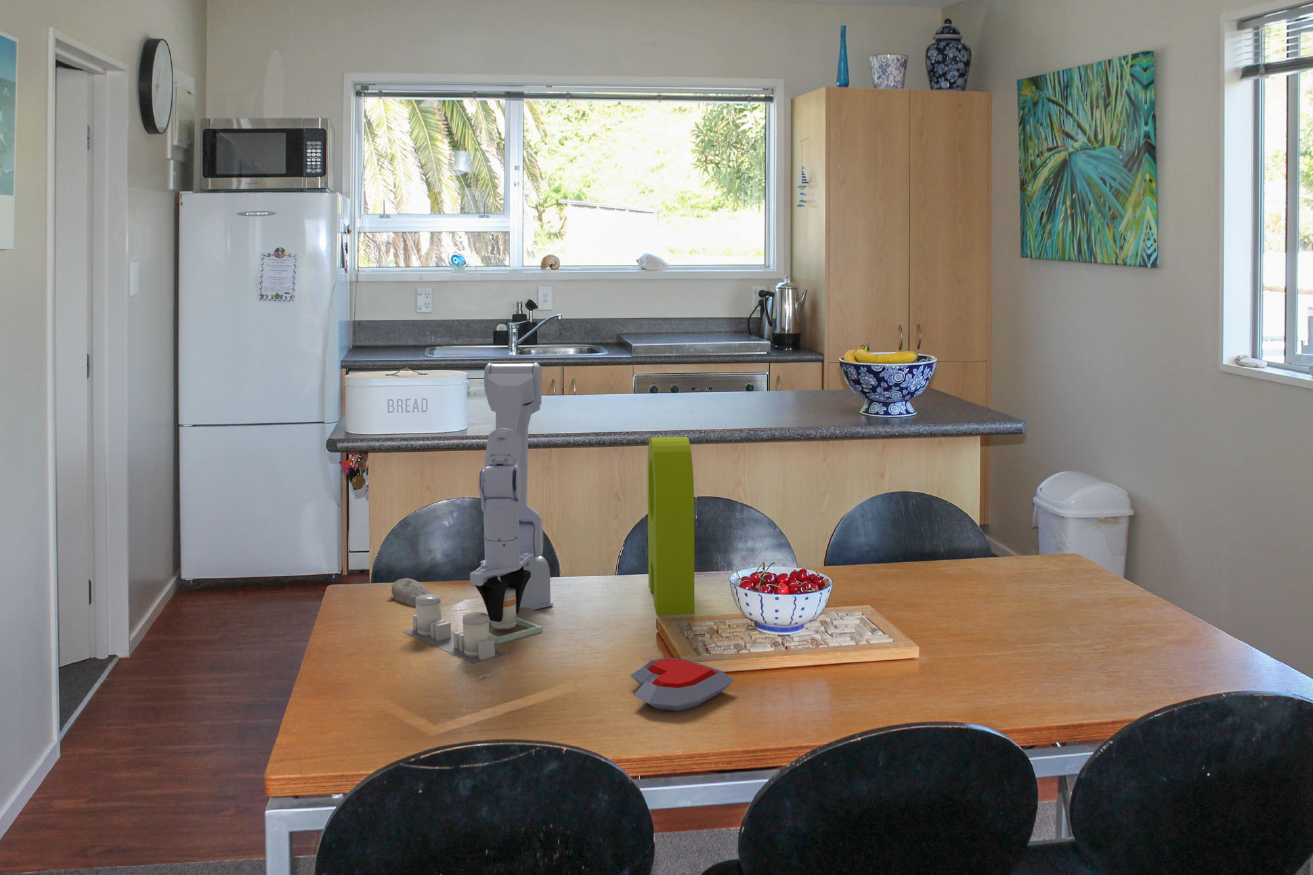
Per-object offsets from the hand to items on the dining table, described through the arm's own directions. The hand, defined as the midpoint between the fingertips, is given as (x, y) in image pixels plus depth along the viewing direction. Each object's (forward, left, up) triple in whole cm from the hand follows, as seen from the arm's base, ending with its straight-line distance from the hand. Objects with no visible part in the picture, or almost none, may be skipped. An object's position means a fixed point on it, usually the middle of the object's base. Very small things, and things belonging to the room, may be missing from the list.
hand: (504, 616), depth 195 cm
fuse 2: (+10, +6, -2) cm, 12 cm away
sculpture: (-4, +39, -4) cm, 39 cm away
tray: (0, 0, -3) cm, 3 cm away
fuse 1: (+10, -8, -2) cm, 13 cm away
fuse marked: (0, 0, -1) cm, 1 cm away
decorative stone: (+1, -28, -4) cm, 28 cm away
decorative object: (-35, +3, -4) cm, 35 cm away
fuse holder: (+10, -1, -3) cm, 10 cm away
